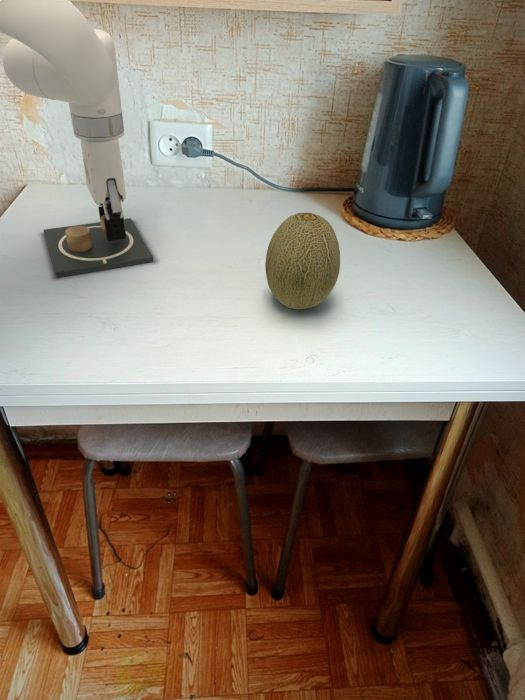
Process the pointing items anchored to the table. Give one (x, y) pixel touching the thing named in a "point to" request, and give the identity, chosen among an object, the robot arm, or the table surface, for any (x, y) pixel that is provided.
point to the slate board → (96, 250)
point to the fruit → (302, 261)
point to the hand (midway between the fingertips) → (113, 232)
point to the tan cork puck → (78, 238)
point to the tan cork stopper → (104, 225)
